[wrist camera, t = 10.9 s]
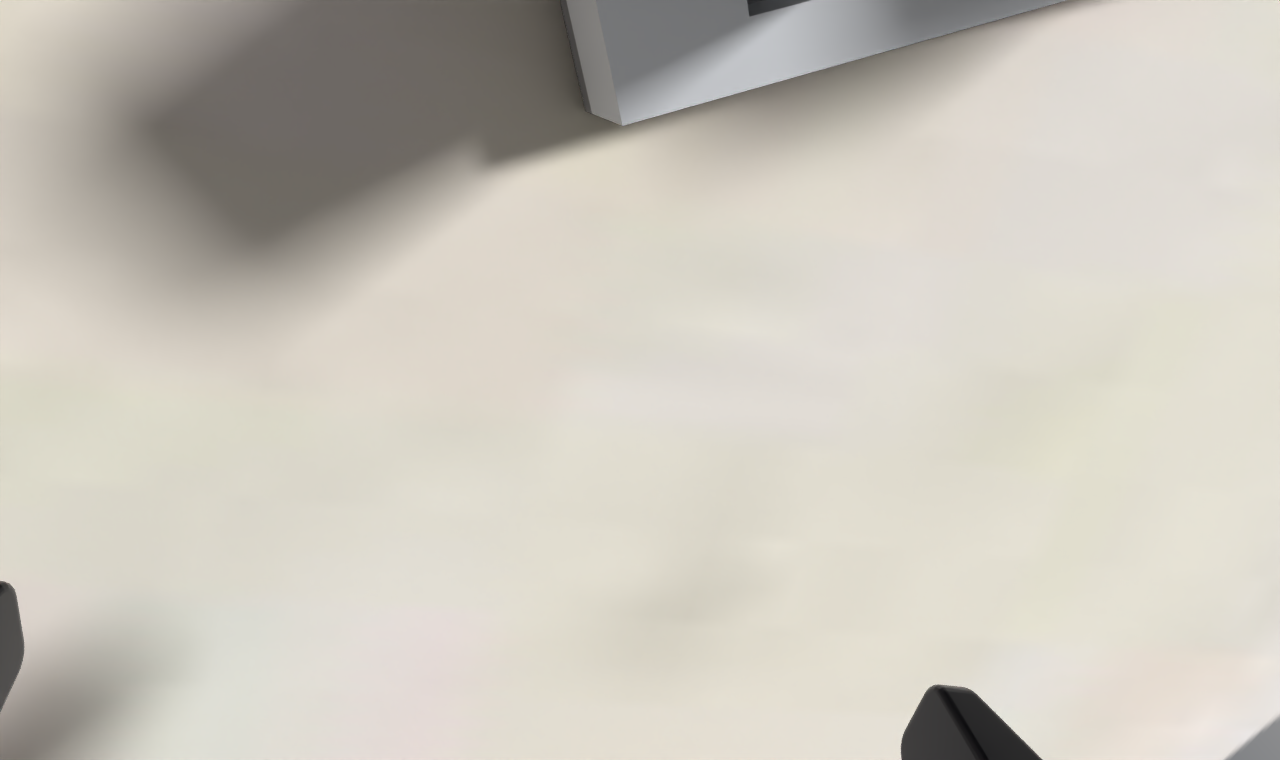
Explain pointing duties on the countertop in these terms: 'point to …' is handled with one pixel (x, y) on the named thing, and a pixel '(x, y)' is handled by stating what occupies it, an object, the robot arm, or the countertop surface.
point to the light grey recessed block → (741, 43)
